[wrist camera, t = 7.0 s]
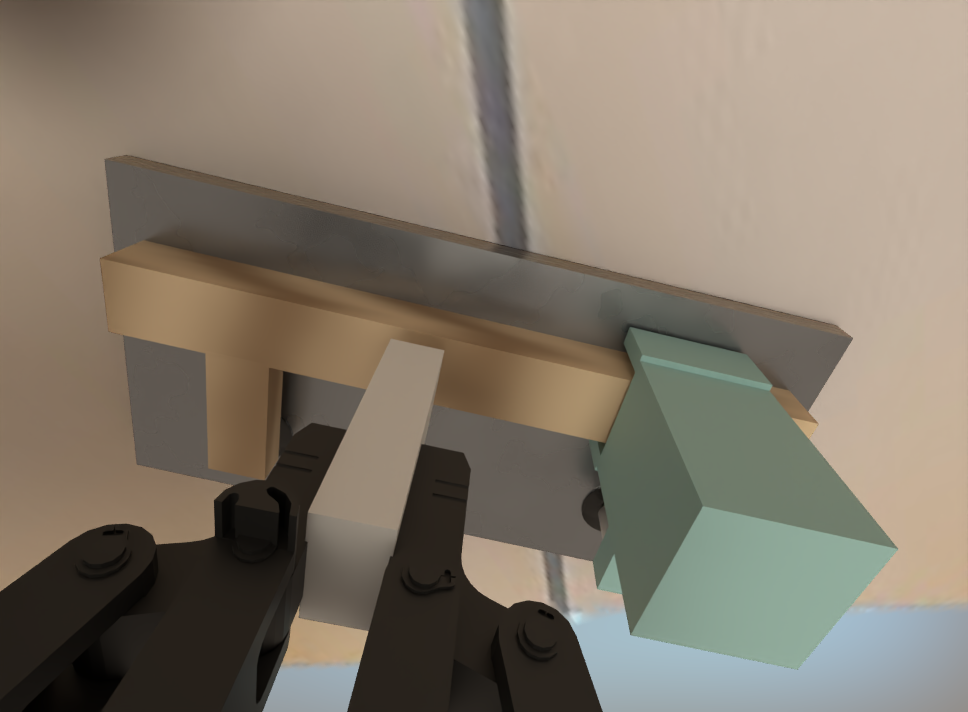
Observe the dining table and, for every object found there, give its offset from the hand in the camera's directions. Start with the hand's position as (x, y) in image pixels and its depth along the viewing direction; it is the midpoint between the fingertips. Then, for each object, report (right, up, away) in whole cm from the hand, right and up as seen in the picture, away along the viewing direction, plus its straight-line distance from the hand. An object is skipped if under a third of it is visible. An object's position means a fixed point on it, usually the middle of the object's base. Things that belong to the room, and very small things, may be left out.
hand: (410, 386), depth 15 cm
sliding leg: (+8, -2, +4) cm, 9 cm away
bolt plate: (+1, -1, +5) cm, 5 cm away
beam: (+1, -1, +5) cm, 5 cm away
